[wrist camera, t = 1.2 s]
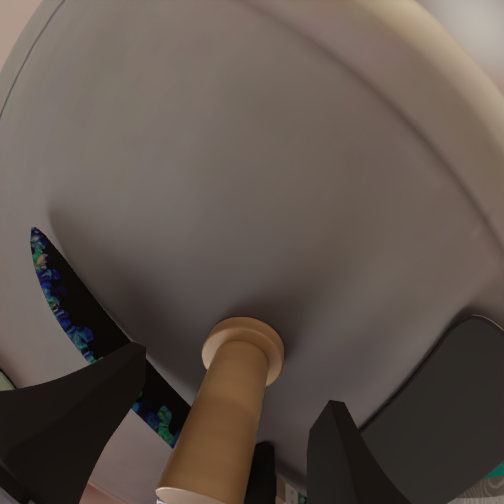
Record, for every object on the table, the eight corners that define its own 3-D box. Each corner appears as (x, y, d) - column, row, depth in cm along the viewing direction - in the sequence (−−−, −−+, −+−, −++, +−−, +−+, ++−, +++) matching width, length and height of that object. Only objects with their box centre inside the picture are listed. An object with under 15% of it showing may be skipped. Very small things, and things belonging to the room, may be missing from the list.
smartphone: (307, 474, 15) (466, 301, 10) (315, 469, 16) (469, 300, 11) (367, 544, 10) (567, 393, 5) (374, 537, 10) (565, 387, 5)
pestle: (271, 385, 13) (246, 532, 6) (202, 365, 14) (138, 500, 6) (294, 328, 12) (282, 502, 5) (214, 305, 12) (129, 458, 5)
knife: (348, 511, 16) (347, 550, 11) (317, 518, 16) (313, 556, 12) (89, 192, 14) (27, 198, 10) (63, 224, 15) (6, 236, 10)
